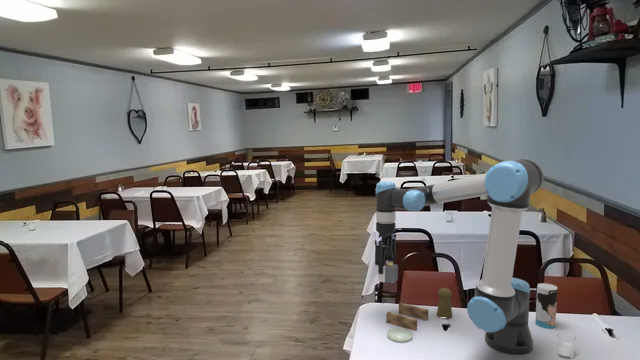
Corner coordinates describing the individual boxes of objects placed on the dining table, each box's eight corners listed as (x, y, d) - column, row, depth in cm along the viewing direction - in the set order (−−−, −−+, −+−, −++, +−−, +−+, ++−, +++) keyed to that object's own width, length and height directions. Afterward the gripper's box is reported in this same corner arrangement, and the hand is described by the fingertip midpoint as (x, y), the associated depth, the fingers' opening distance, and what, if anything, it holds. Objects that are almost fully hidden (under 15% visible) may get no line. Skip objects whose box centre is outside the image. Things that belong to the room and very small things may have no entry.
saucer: (416, 334, 154) (416, 332, 154) (406, 345, 147) (406, 342, 147) (394, 328, 160) (394, 325, 159) (382, 337, 152) (382, 335, 152)
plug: (397, 279, 168) (397, 262, 168) (394, 283, 164) (394, 265, 163) (385, 277, 170) (385, 260, 170) (382, 281, 166) (382, 264, 165)
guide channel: (428, 319, 167) (428, 309, 166) (415, 331, 157) (415, 320, 157) (400, 311, 174) (400, 302, 173) (386, 322, 164) (386, 312, 164)
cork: (453, 319, 166) (453, 292, 165) (437, 318, 168) (437, 291, 166) (451, 312, 172) (452, 286, 171) (436, 311, 174) (436, 285, 172)
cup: (549, 330, 156) (552, 291, 155) (531, 323, 162) (533, 285, 160) (558, 325, 160) (560, 287, 159) (540, 319, 166) (542, 282, 164)
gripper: (388, 216, 175) (388, 271, 177) (365, 224, 160) (365, 284, 163) (405, 218, 170) (404, 274, 173) (382, 227, 156) (382, 288, 158)
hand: (385, 279), depth 168 cm, fingers closed on plug, 5 cm apart
